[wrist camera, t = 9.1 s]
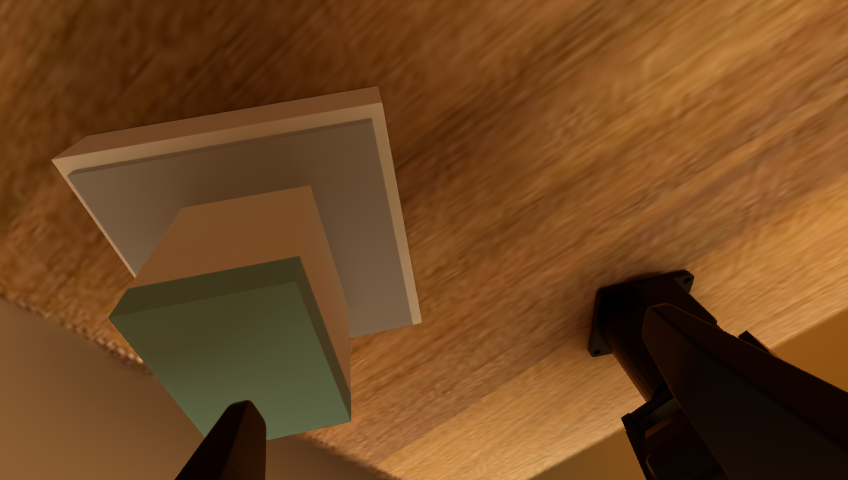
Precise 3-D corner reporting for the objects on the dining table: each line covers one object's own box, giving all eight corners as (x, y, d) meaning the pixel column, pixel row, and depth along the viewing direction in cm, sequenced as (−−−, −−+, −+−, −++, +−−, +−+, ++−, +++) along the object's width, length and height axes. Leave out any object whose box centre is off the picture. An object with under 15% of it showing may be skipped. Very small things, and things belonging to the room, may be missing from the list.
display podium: (415, 292, 24) (423, 329, 22) (212, 334, 23) (196, 377, 21) (377, 85, 17) (383, 105, 15) (87, 135, 16) (42, 165, 14)
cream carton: (310, 185, 16) (295, 281, 11) (349, 310, 20) (351, 421, 15) (181, 207, 16) (108, 317, 11) (247, 330, 20) (216, 451, 15)
